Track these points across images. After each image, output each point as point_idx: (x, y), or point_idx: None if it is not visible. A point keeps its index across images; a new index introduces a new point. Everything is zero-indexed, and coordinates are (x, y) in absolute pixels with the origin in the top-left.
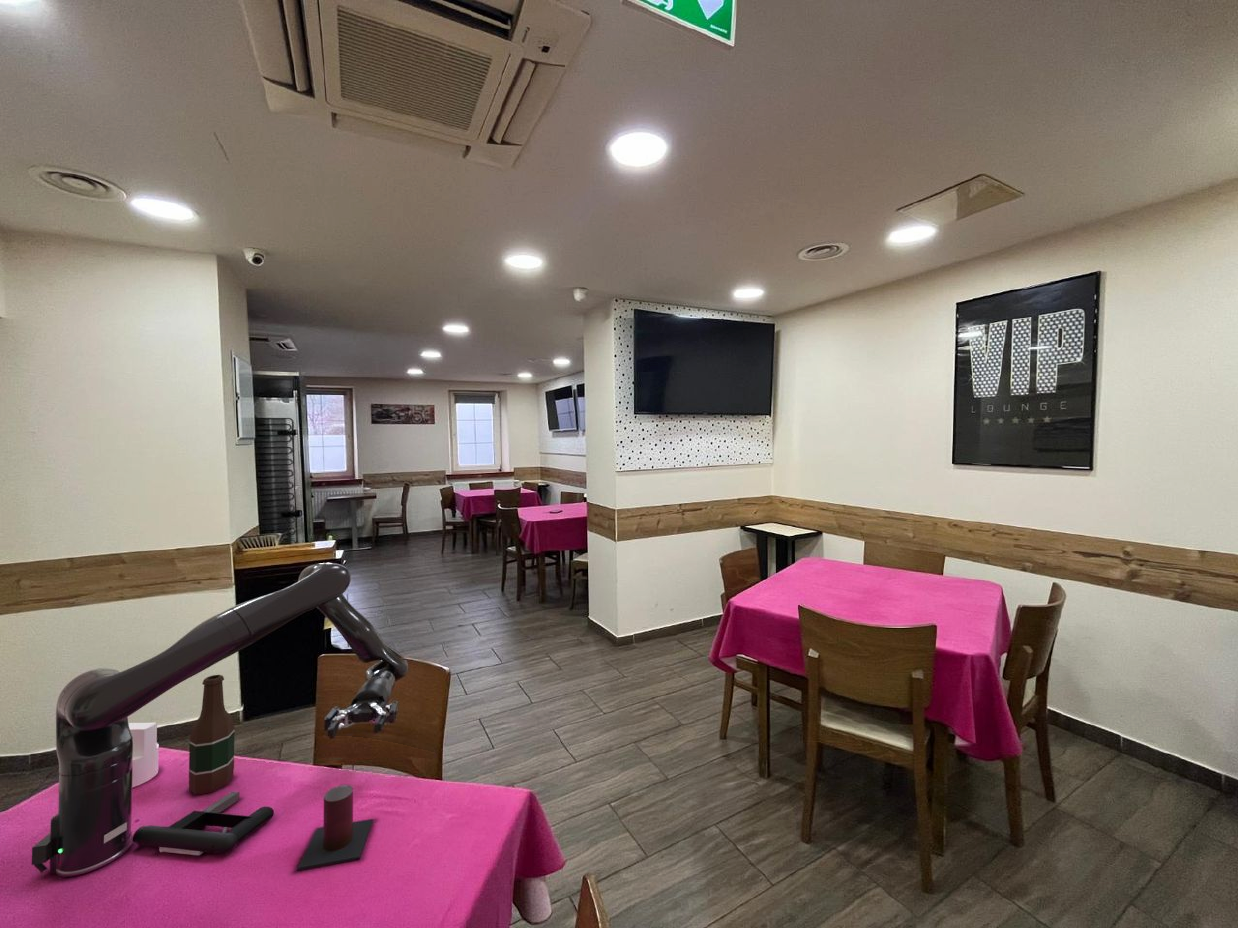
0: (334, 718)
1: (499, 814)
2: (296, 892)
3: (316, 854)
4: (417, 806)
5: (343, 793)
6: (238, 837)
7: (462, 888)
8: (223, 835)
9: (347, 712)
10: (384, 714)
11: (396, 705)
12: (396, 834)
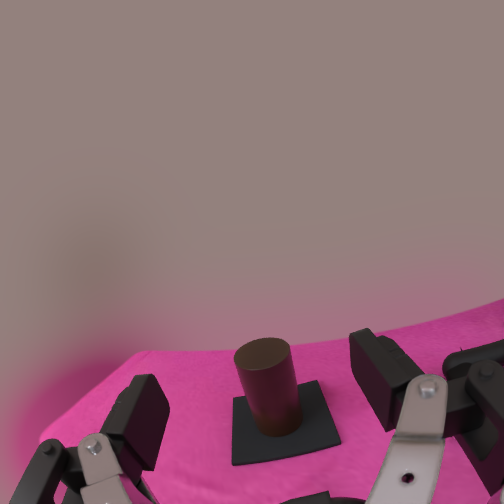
0: (438, 387)
1: (61, 429)
2: (296, 363)
3: (302, 398)
4: (151, 485)
5: (250, 352)
6: (447, 372)
7: (131, 366)
8: (461, 353)
9: (387, 452)
10: (90, 435)
11: (13, 501)
12: (186, 434)
